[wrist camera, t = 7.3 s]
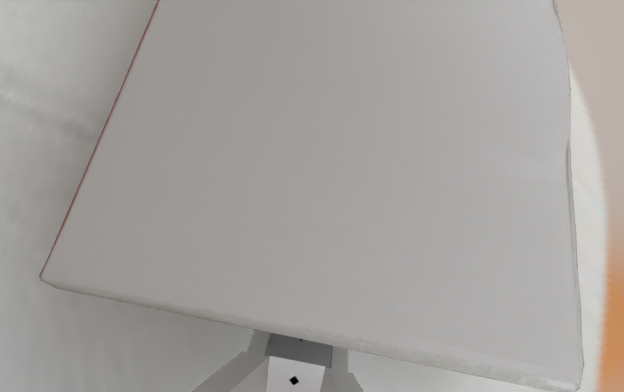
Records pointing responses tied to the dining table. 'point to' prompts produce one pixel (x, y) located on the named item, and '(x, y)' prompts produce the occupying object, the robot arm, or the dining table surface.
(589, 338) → the dining table surface
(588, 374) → the dining table surface
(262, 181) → the small box
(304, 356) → the robot arm
